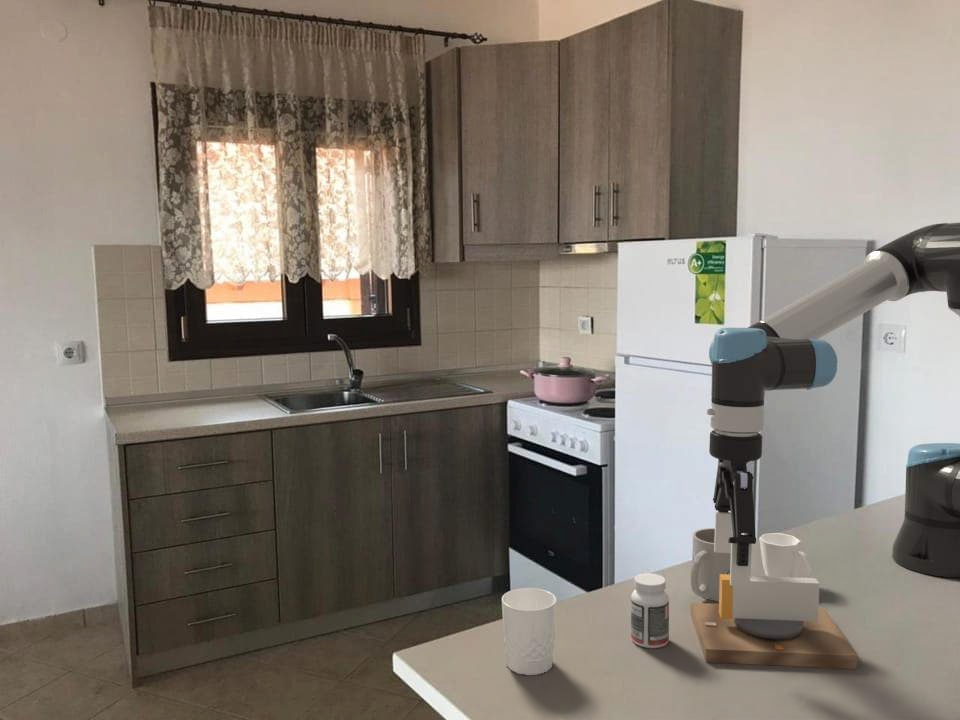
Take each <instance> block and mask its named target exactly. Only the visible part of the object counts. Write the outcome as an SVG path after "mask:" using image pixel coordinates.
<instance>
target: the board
mask: <svg viewBox="0 0 960 720" xmlns="http://www.w3.org/2000/svg"><path fill="white" fill-rule="evenodd" d="M690 617H691V621H692V623H693V626H694V630H695V632H696V635H697V640H698V643H699V645H700V648H701V651H702V654H703V657H704V661H705V663H715V664H716V663H717V664H720V663H721V664H740V665H741V664H743V665H759V666H761V665H763V666H785V667H803V668H805V667H807V668H827V669H829V668H830V669H848V670H849V669H850V670H851V669H852V670H857V669H858V654H857V653H856V651H855V650H854V649H853V647H852V646H851V644H850V643H849V642H848V641H849V640H847V639H846V637H845V635H843V633H842V632H841V630H840V629H839V627H838V626H837V624H836V623H835V622H834V620H833V619H832V617H831V616H830V614H829V613H828V611H827V610H826V609H825V607H818V621H803V632H802V633H801V634H800V635H799V636H797V637H794V638H790V639H767V638H762V637H757V636H754V635H751V634H749V633H746V632H744V631H742V630H741V629H739V628H738V627H737V626H736V625H735V623H734V618H732V619H721V617H720V614H719V603H706V602H705V603H703V602H690Z"/></svg>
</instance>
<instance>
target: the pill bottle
mask: <svg viewBox="0 0 960 720" xmlns="http://www.w3.org/2000/svg"><path fill="white" fill-rule="evenodd" d="M666 583H667V582H666V579H665V577H663V575H660V574H658V573H650V572H648V573H647V572H646V573H639V574H637V575H636V576H634V581H633V586H634V588H635V589H634V590H633V592H632V593H631V595H630V614H631V615H630V636H631V640H632V642H633V643H634V644H635V645H637V646H639V647H642V648H645V649H646V648H647V649H659V648H662V647H665V646H666V645H667V644H668V643H669V639H670V638H669V637H670V621H669V620H670V596H669V595H668V593H667V592H666V591H665V589H666V588H667V585H666Z"/></svg>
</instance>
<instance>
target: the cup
mask: <svg viewBox="0 0 960 720" xmlns="http://www.w3.org/2000/svg"><path fill="white" fill-rule="evenodd" d="M758 540H759V544H760V545H759V547H760V553H761V561H762V563H761V564H762V566H763V567H762V568H763V570H764V576H765V577H793V576H794V572H795V569H796V567H797V561H798V558H799V557H798V556H799V555H800V557H802V559H803V561H804V562H805V568H806V574H805V578H811V575H812V568H811V561H810V559H809V557H808V556H807V554H806V552H803V551H801V550H800V546H801V542H802V540H800V539H798V537H796V536H794V535H792V534H791V535H790V534H786V533H781V532H772V533H771V532H769V533H764V534H762V535H761V536H760V537H759V539H758Z"/></svg>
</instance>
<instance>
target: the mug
mask: <svg viewBox="0 0 960 720" xmlns="http://www.w3.org/2000/svg"><path fill="white" fill-rule="evenodd" d="M714 539H715V527H714V528H713V527H710V528H708V527H707V528H700V529H697V530H695V531H694V532H693V533H692V548H691V549H692V551H691V552H692V553H691V554H692V555H691V557H692V559H691V561H692V562H691V569H690V587H691V592H693V593H694V595H696V596H698V597H701V598H702V599H706V600H710V601H716V602H719V583H720V574H729V575H730V563H731V553H717V552H714Z"/></svg>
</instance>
